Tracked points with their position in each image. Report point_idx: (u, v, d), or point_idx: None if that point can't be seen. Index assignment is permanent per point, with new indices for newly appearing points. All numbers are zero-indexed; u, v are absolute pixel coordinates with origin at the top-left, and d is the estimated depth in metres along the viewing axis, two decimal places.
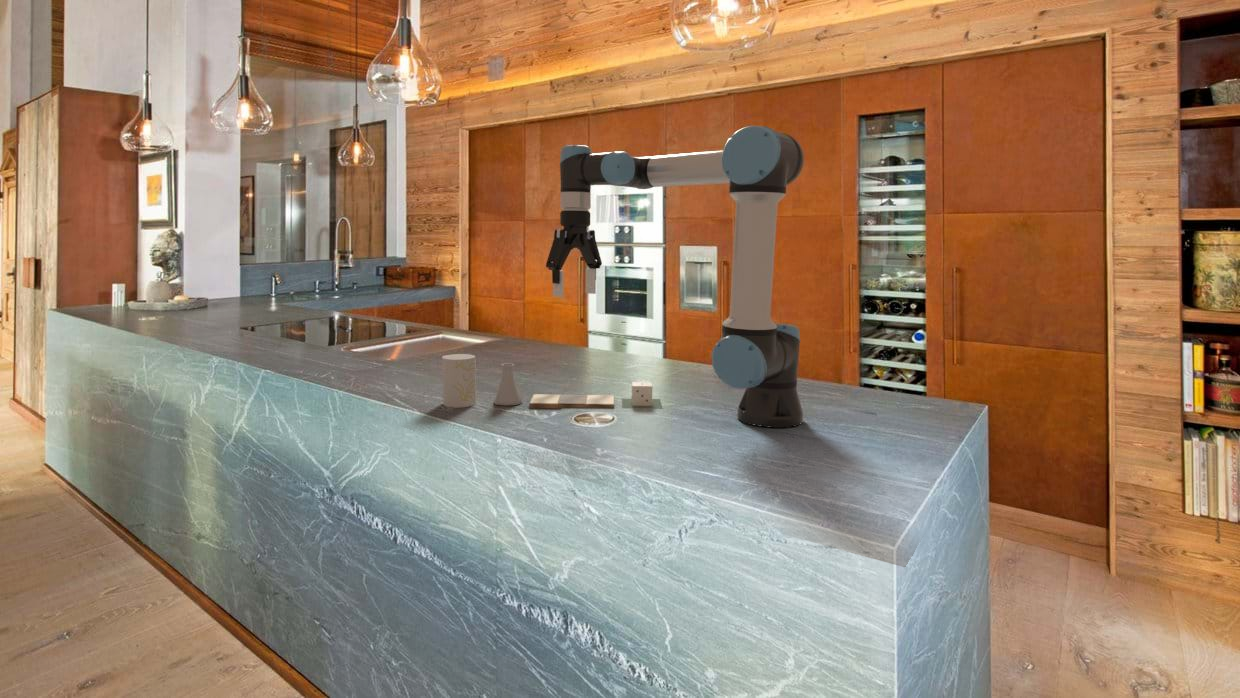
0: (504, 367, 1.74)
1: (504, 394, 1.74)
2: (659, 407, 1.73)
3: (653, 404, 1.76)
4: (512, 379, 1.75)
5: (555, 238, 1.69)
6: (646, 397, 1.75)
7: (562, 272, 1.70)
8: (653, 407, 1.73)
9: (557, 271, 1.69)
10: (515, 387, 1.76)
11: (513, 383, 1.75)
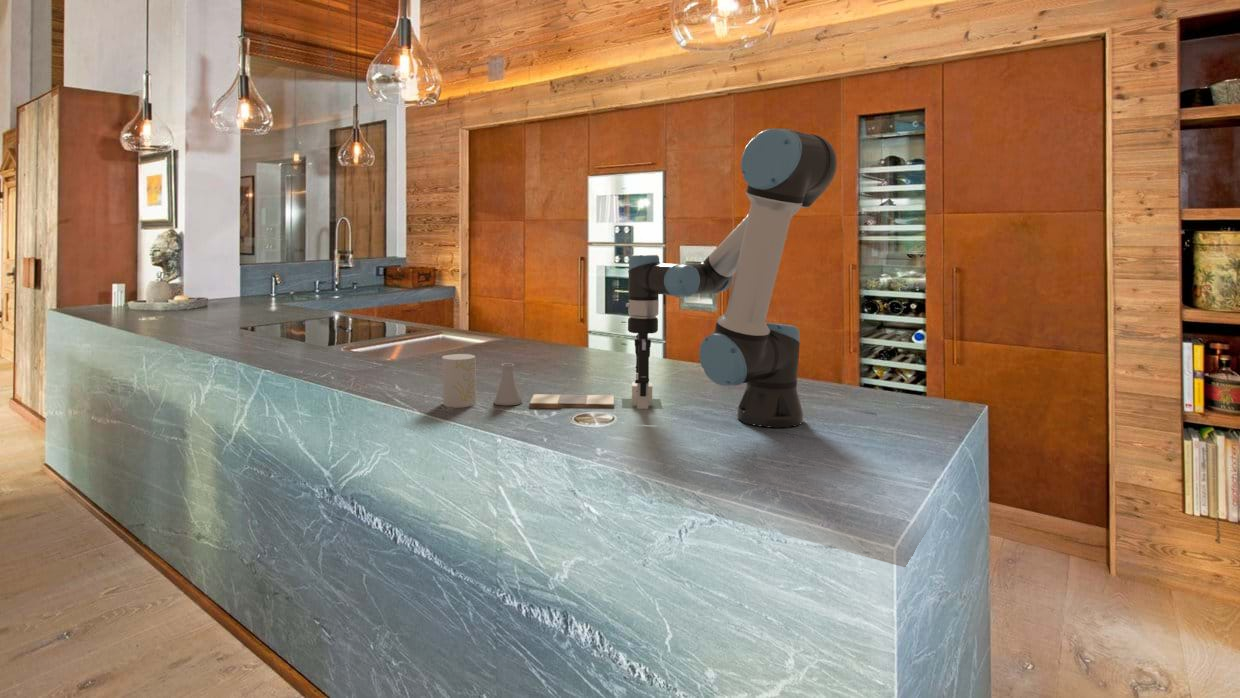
0: (504, 367, 1.74)
1: (504, 394, 1.74)
2: (659, 407, 1.73)
3: (653, 404, 1.76)
4: (512, 379, 1.75)
5: (640, 351, 1.68)
6: None
7: None
8: (653, 407, 1.73)
9: (646, 384, 1.70)
10: (515, 387, 1.76)
11: (513, 383, 1.75)
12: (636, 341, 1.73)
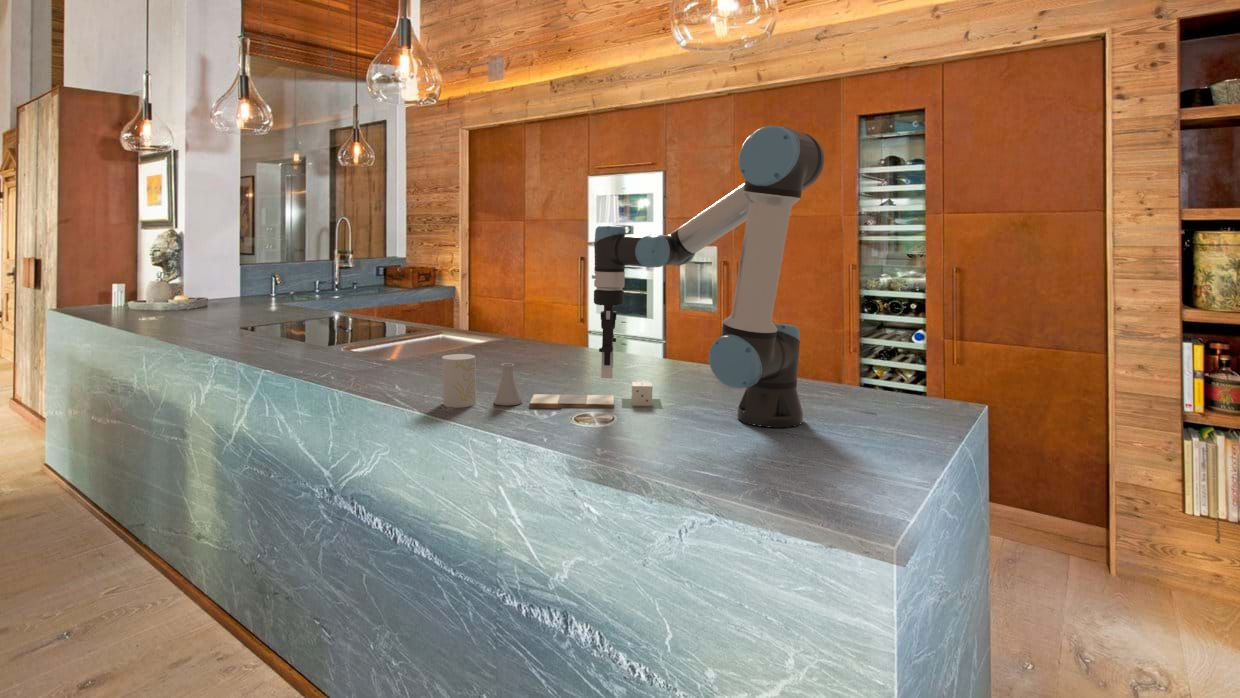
0: (504, 367, 1.74)
1: (503, 394, 1.74)
2: (659, 407, 1.73)
3: (653, 404, 1.76)
4: (512, 379, 1.75)
5: (604, 320, 1.67)
6: (646, 397, 1.75)
7: (612, 353, 1.69)
8: (653, 407, 1.73)
9: (610, 353, 1.67)
10: (515, 387, 1.76)
11: (513, 383, 1.75)
12: (601, 313, 1.72)
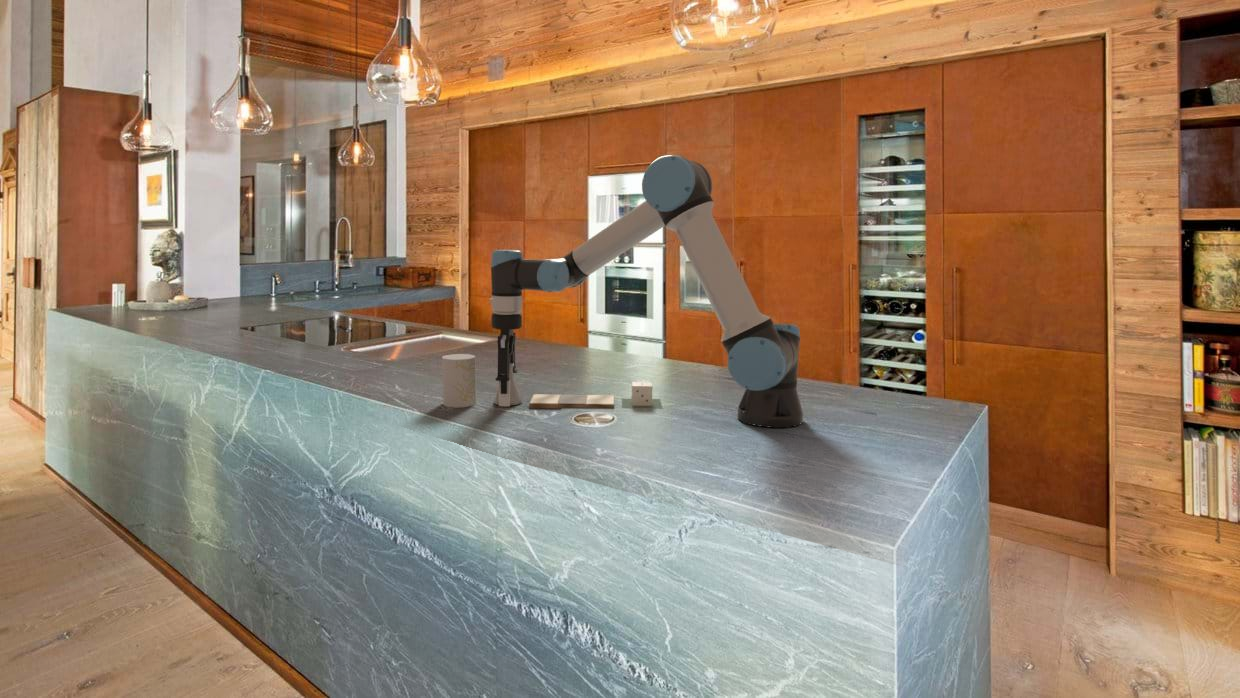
0: None
1: None
2: (659, 407, 1.73)
3: (653, 404, 1.76)
4: (512, 379, 1.75)
5: (499, 349, 1.68)
6: (646, 397, 1.75)
7: (509, 382, 1.72)
8: (653, 407, 1.73)
9: (506, 382, 1.71)
10: (515, 387, 1.76)
11: (513, 383, 1.75)
12: (499, 337, 1.72)
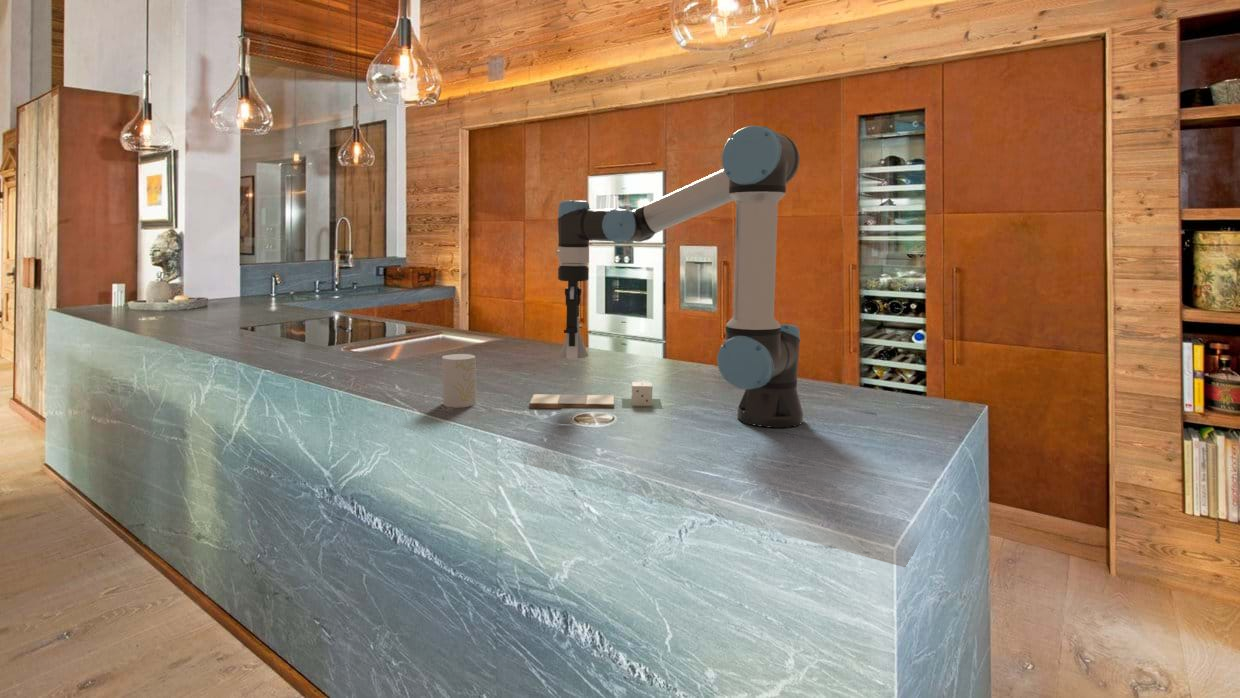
0: None
1: None
2: (659, 407, 1.73)
3: (653, 404, 1.76)
4: (578, 332, 1.73)
5: (568, 300, 1.66)
6: (646, 397, 1.75)
7: (577, 334, 1.70)
8: (653, 407, 1.73)
9: (574, 334, 1.69)
10: (581, 340, 1.74)
11: (579, 336, 1.73)
12: (566, 290, 1.71)
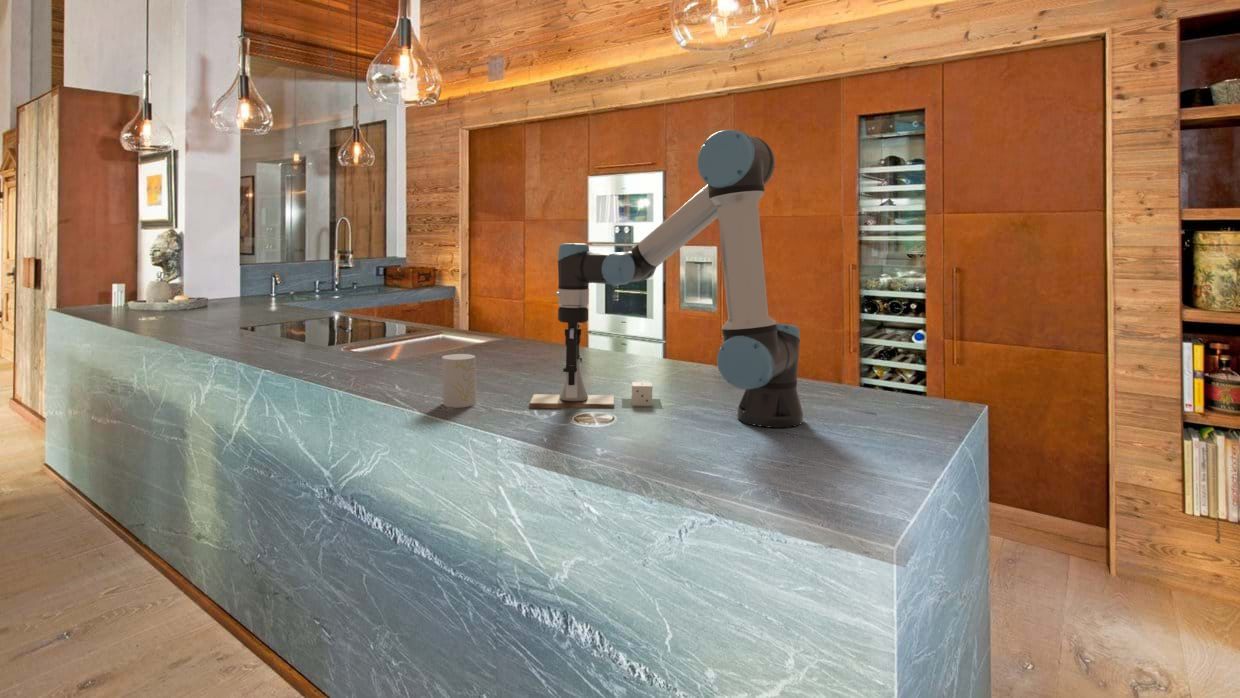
0: None
1: None
2: (659, 407, 1.73)
3: (653, 404, 1.76)
4: (579, 375, 1.75)
5: (568, 339, 1.68)
6: (646, 397, 1.75)
7: None
8: (653, 407, 1.73)
9: (574, 373, 1.69)
10: (582, 383, 1.76)
11: (580, 379, 1.75)
12: (566, 330, 1.72)
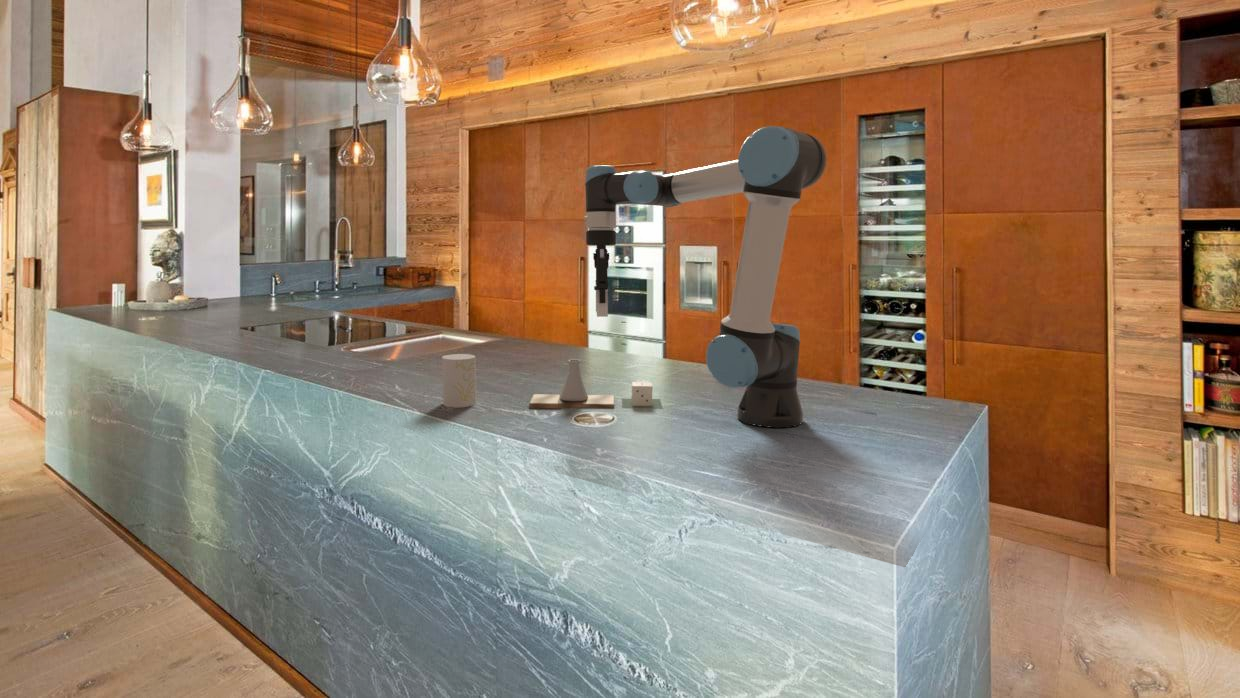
0: (571, 363, 1.74)
1: (571, 389, 1.74)
2: (659, 407, 1.73)
3: (653, 404, 1.76)
4: (579, 375, 1.75)
5: (599, 258, 1.69)
6: (646, 397, 1.75)
7: (607, 291, 1.70)
8: (653, 407, 1.73)
9: (605, 291, 1.69)
10: (582, 383, 1.76)
11: (580, 379, 1.75)
12: (594, 253, 1.74)
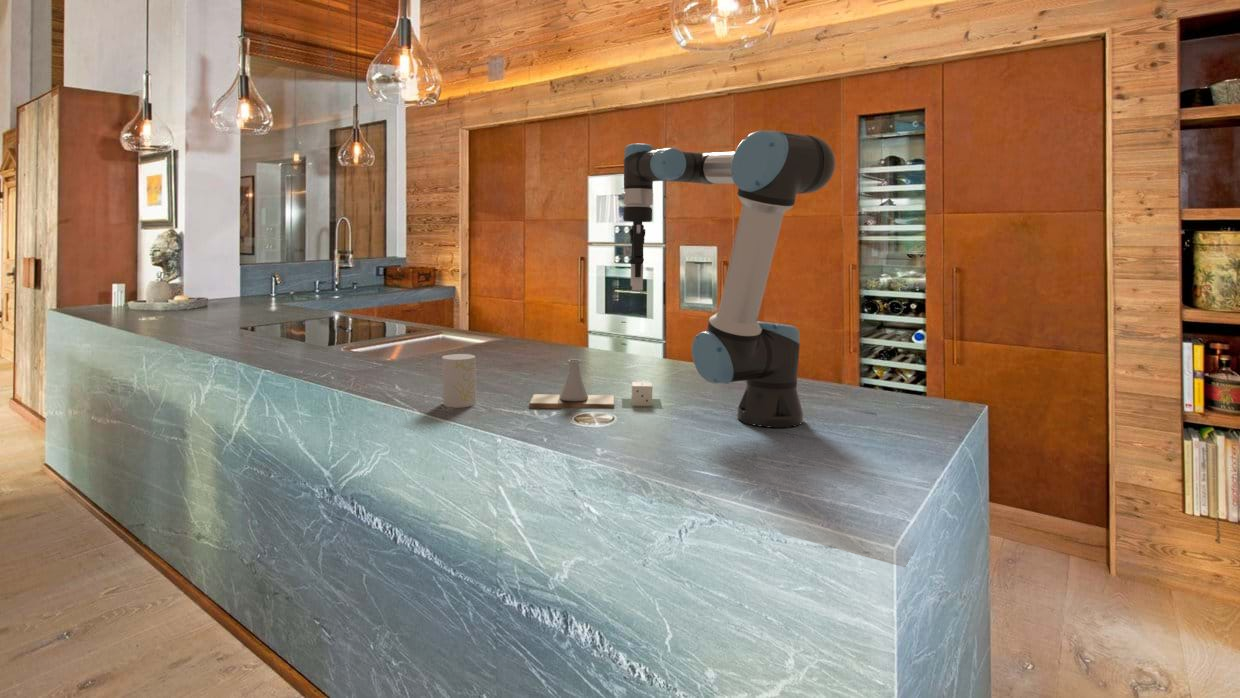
0: (571, 363, 1.74)
1: (571, 389, 1.74)
2: (659, 407, 1.73)
3: (653, 404, 1.76)
4: (579, 375, 1.75)
5: (635, 233, 1.75)
6: (646, 397, 1.75)
7: (642, 266, 1.76)
8: (653, 407, 1.73)
9: (640, 265, 1.75)
10: (582, 383, 1.76)
11: (580, 379, 1.75)
12: (631, 229, 1.80)
